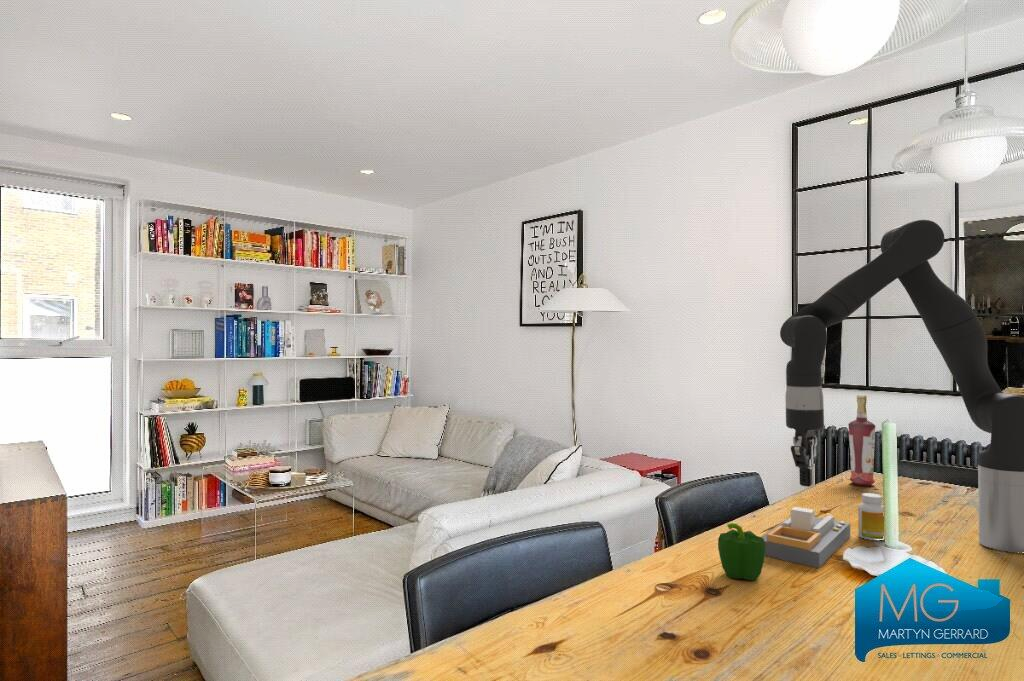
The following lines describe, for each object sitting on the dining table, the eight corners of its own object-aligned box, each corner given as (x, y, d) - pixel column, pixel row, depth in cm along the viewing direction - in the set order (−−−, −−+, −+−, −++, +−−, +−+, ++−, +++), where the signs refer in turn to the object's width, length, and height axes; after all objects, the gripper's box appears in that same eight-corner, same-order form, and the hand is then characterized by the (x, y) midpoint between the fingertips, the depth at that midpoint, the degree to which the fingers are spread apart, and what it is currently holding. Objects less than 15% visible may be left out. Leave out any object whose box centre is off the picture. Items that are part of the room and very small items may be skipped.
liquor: (870, 488, 181) (870, 397, 181) (845, 484, 186) (844, 395, 186) (879, 484, 185) (878, 395, 186) (854, 480, 191) (853, 394, 191)
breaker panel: (850, 536, 136) (850, 514, 136) (819, 568, 116) (819, 542, 116) (794, 525, 144) (794, 505, 144) (756, 553, 124) (756, 530, 124)
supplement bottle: (891, 541, 132) (891, 498, 132) (867, 541, 132) (866, 498, 132) (877, 534, 137) (876, 492, 137) (853, 534, 137) (853, 492, 137)
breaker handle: (814, 532, 128) (814, 509, 128) (810, 535, 126) (810, 512, 126) (795, 528, 131) (795, 506, 131) (790, 531, 129) (790, 509, 129)
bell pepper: (764, 571, 115) (764, 519, 115) (767, 587, 107) (766, 532, 107) (718, 565, 118) (718, 515, 118) (718, 581, 110) (717, 527, 110)
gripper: (814, 410, 123) (816, 494, 122) (830, 405, 133) (832, 482, 132) (776, 408, 128) (778, 488, 127) (795, 403, 138) (796, 477, 137)
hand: (806, 485), depth 130 cm, fingers closed
